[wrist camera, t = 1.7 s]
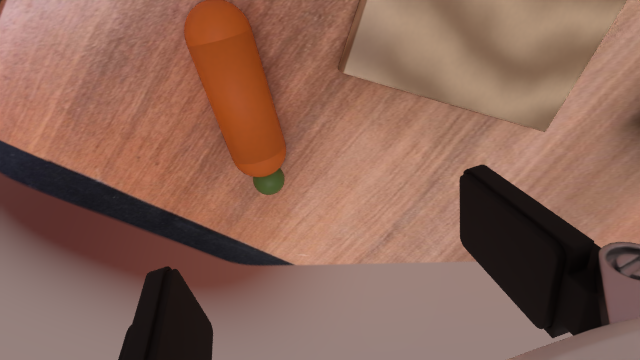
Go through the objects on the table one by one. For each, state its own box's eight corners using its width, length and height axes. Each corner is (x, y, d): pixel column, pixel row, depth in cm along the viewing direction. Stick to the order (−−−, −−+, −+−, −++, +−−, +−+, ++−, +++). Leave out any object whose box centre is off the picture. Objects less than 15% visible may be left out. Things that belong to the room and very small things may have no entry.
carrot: (189, 3, 22) (159, 12, 19) (247, -11, 21) (228, -5, 18) (255, 181, 29) (242, 210, 26) (300, 174, 29) (293, 204, 25)
